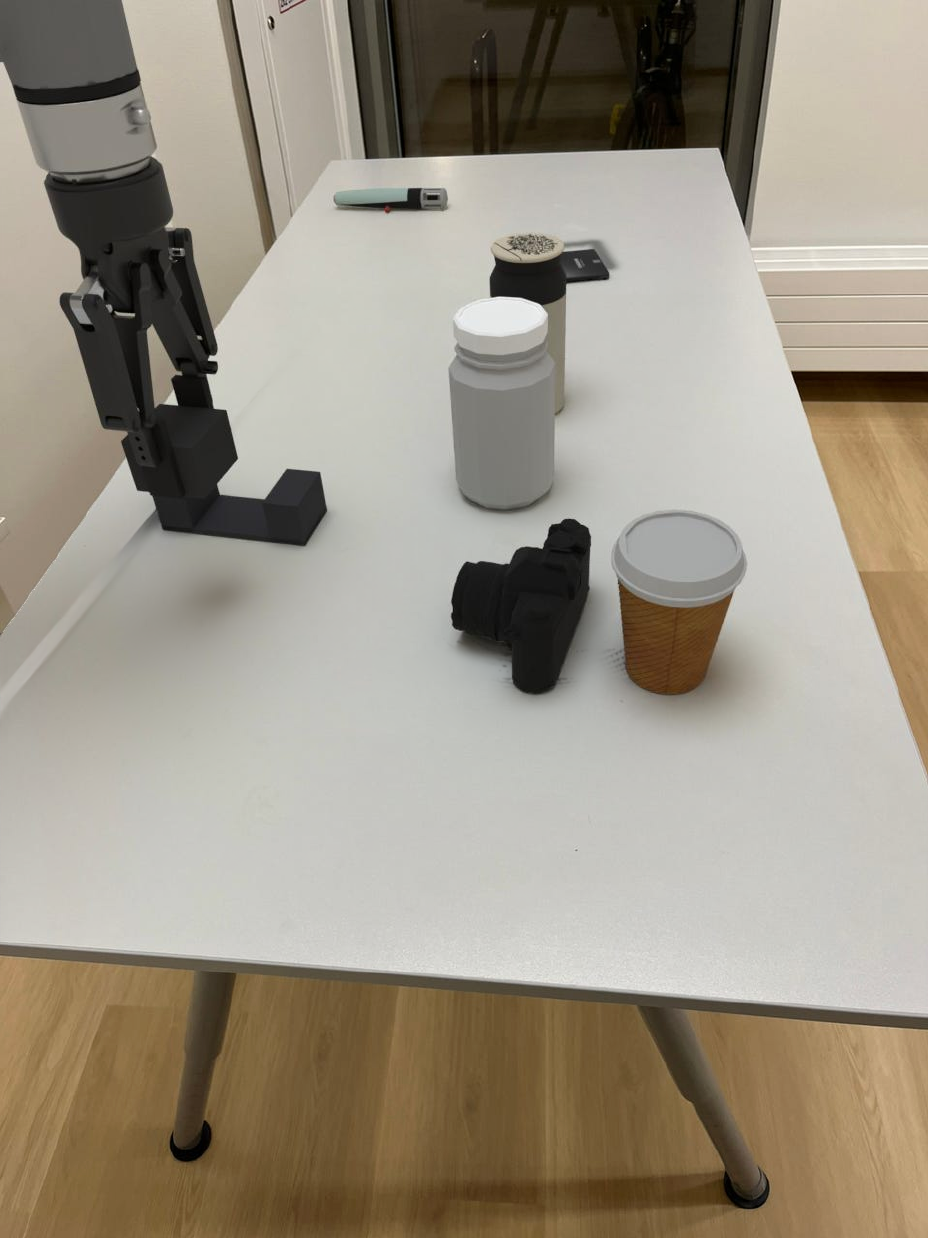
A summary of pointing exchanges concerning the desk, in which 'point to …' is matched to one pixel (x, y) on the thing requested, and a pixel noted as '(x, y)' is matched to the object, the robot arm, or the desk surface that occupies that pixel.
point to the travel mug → (535, 287)
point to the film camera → (529, 602)
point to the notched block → (252, 511)
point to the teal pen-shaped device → (393, 198)
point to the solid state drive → (583, 265)
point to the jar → (502, 402)
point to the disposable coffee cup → (674, 595)
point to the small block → (192, 447)
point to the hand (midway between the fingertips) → (188, 471)
